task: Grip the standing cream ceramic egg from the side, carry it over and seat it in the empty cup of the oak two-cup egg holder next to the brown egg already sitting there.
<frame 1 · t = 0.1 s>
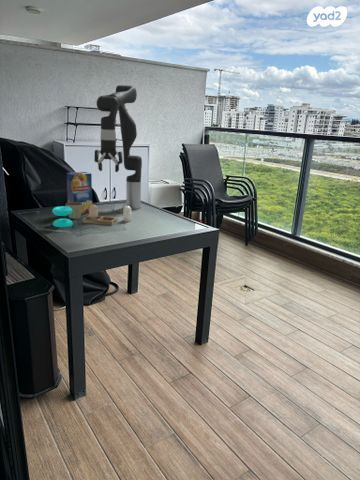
hand: (108, 171, 190), 29 cm above the table, tool pointing down, fingers open, 8 cm apart
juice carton: (80, 213, 221), on the table
egg holder: (100, 223, 203), on the table
brown egg: (93, 221, 203), point 1 cm above the table, touching egg holder
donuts: (63, 226, 194), on the table
cream egg: (127, 222, 208), on the table
flower pot: (74, 219, 209), on the table
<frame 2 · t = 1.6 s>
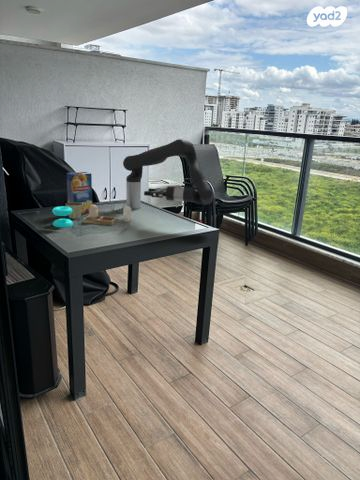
hand: (146, 191, 200), 18 cm above the table, tool horizontal, fingers open, 8 cm apart
nothing on the table moved.
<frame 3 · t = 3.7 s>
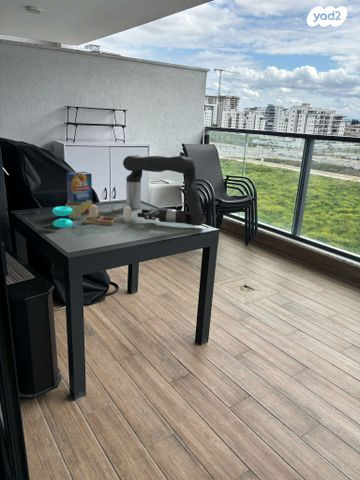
hand: (139, 213, 205), 6 cm above the table, tool horizontal, fingers open, 8 cm apart
nothing on the table moved.
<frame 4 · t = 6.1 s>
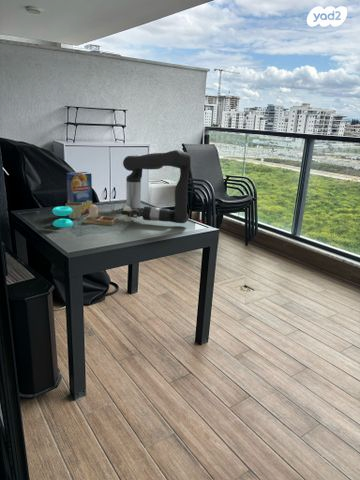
hand: (122, 211, 206), 6 cm above the table, tool horizontal, fingers closed on cream egg, 4 cm apart
cream egg: (127, 222, 208), on the table, touching gripper
everything else where it was.
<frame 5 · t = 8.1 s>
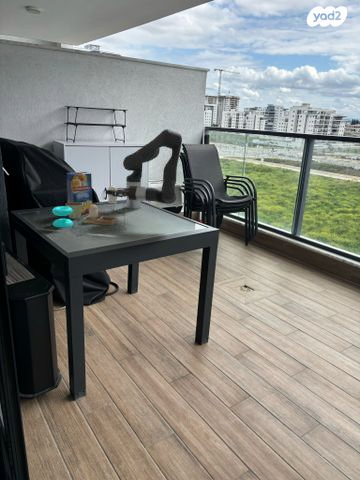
hand: (107, 191, 198), 18 cm above the table, tool horizontal, fingers closed on cream egg, 4 cm apart
cream egg: (112, 202, 199), point 12 cm above the table, touching gripper
everything else where it was.
when the fingers open (9 cm above the table, at t = 10.5 s): cream egg drops 2 cm, resting on egg holder.
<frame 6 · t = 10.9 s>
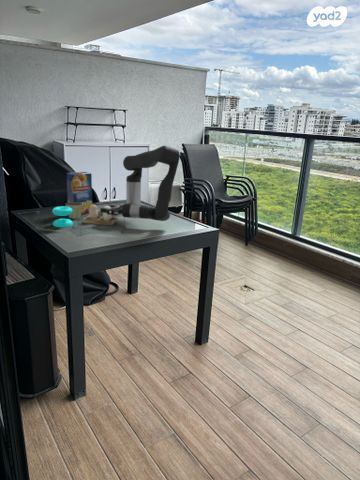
hand: (103, 208, 199), 9 cm above the table, tool horizontal, fingers open, 8 cm apart
cream egg: (107, 222, 202), point 1 cm above the table, touching egg holder
everything else where it was.
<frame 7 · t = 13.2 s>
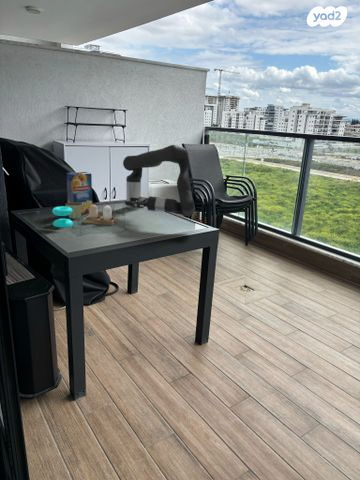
hand: (127, 201, 197), 14 cm above the table, tool horizontal, fingers open, 8 cm apart
nothing on the table moved.
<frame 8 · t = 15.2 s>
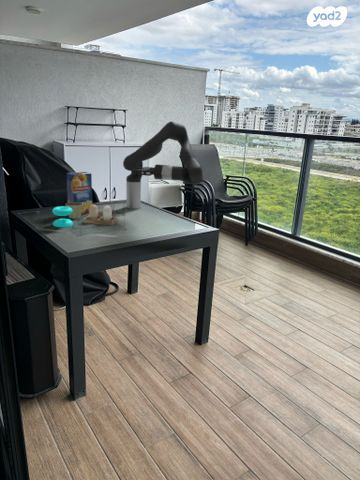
hand: (133, 170, 193), 30 cm above the table, tool horizontal, fingers open, 8 cm apart
nothing on the table moved.
at the end: cream egg 0.2 cm from the target spot on the egg holder, point 1.0 cm above the egg holder's base; cream egg tilted 0°; the gripper is holding nothing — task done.
